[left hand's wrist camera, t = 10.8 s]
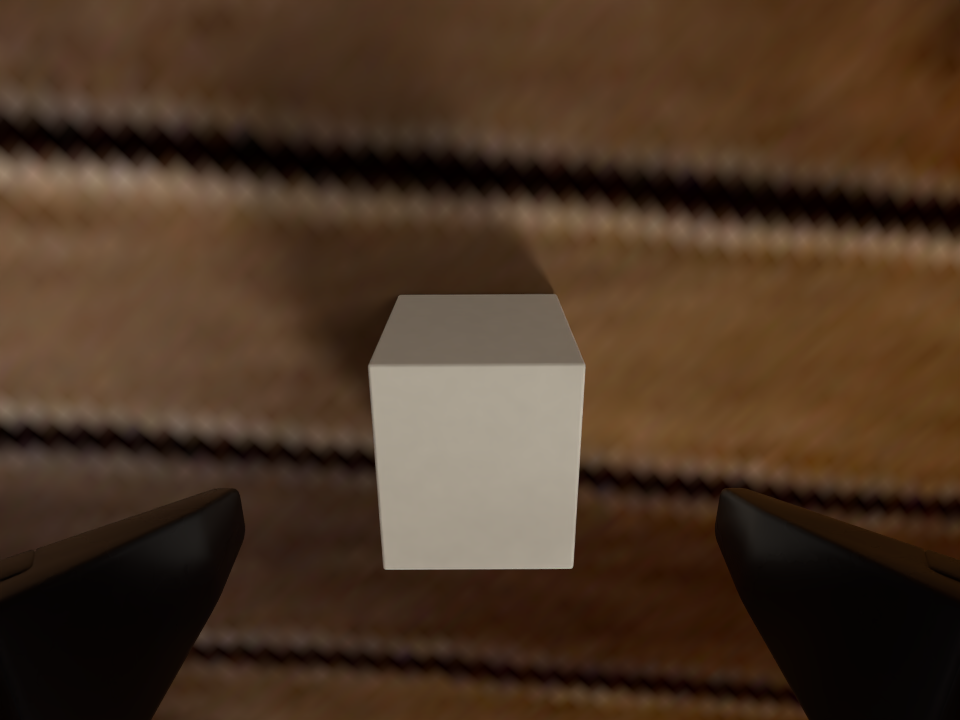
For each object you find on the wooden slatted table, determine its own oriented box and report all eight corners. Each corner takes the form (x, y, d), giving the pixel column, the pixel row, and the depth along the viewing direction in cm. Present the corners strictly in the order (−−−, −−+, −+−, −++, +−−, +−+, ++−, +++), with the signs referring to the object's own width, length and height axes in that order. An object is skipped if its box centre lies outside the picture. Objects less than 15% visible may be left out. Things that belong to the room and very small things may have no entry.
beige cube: (407, 456, 18) (383, 570, 14) (398, 294, 17) (366, 364, 12) (550, 455, 18) (573, 570, 14) (557, 293, 16) (585, 363, 12)
